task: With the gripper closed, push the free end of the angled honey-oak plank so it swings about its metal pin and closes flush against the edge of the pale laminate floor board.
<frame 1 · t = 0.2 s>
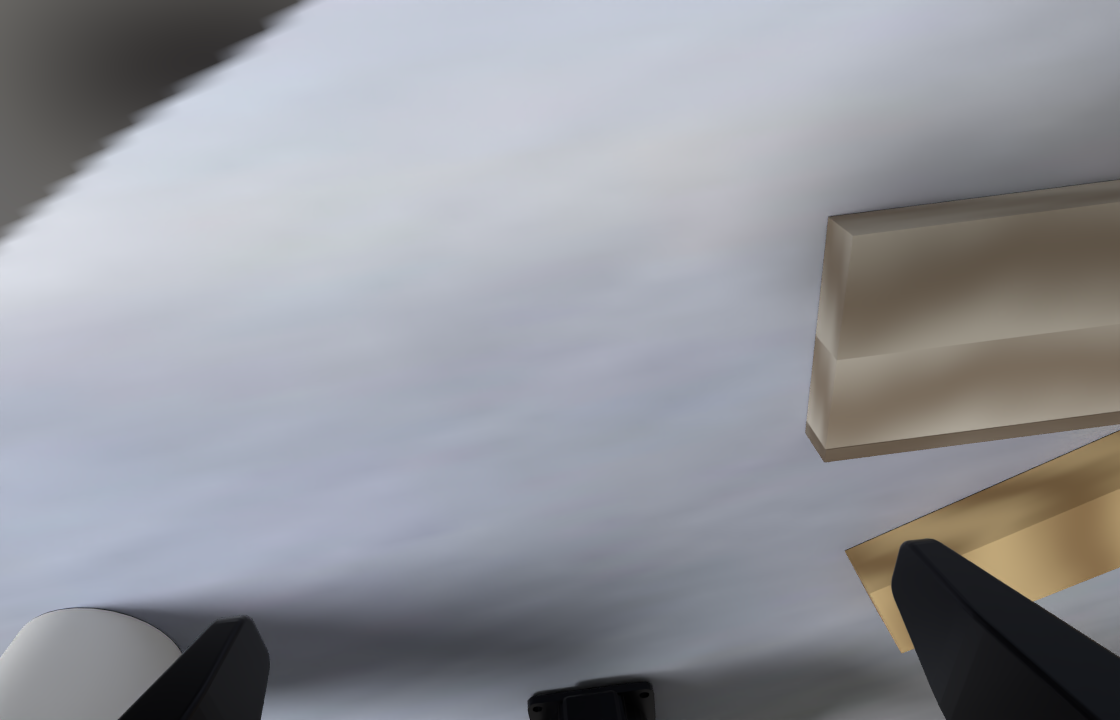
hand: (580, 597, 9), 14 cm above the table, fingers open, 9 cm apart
floor board: (1085, 300, 24), on the table
plank: (1061, 529, 28), point 1 cm above the table, hinge at 25.0°
cylindrical container: (104, 656, 31), on the table
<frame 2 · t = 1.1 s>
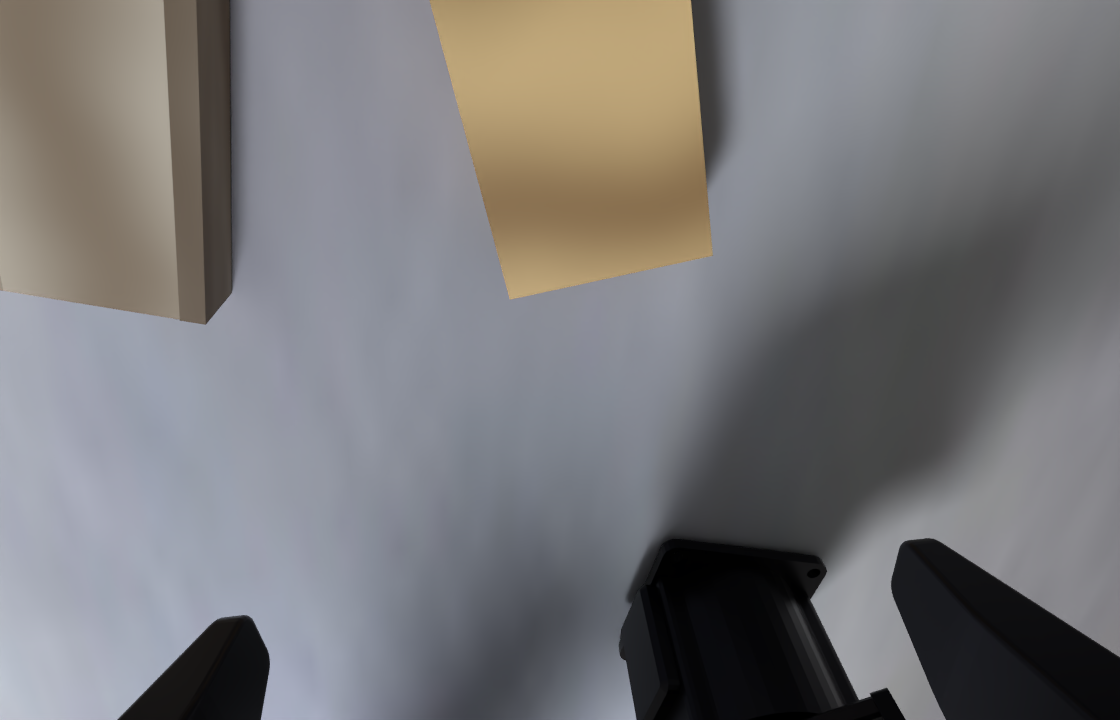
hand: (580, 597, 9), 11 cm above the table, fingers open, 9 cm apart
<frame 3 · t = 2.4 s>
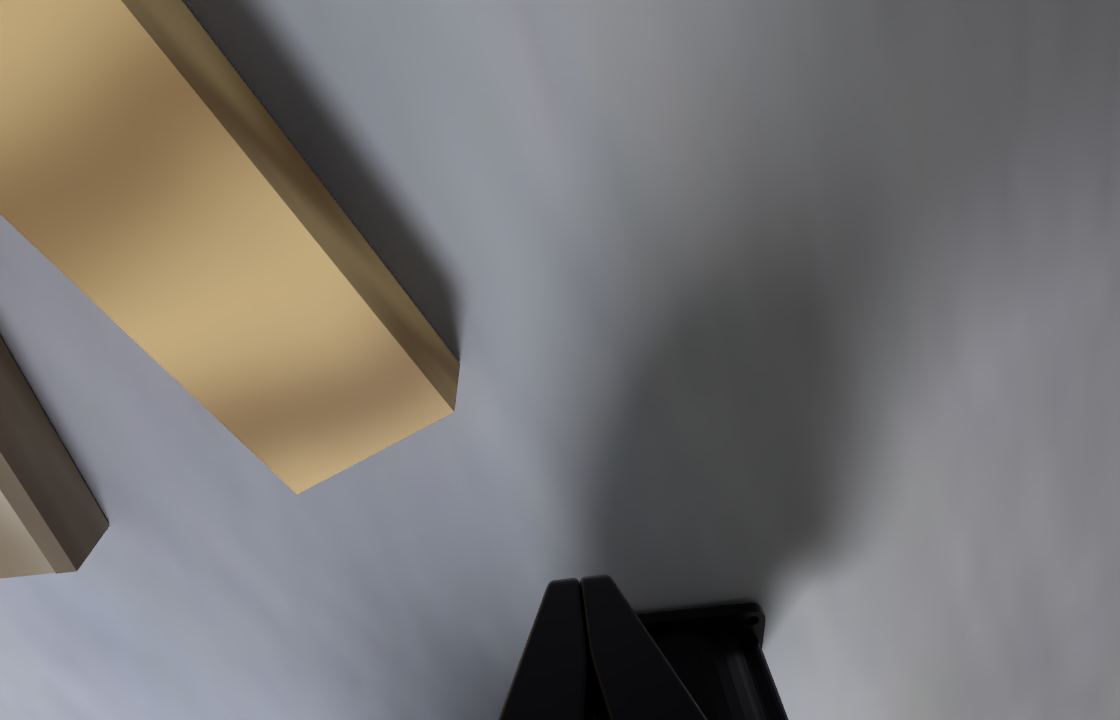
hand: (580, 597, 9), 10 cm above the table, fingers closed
plank: (136, 163, 14), point 1 cm above the table, hinge at 25.0°
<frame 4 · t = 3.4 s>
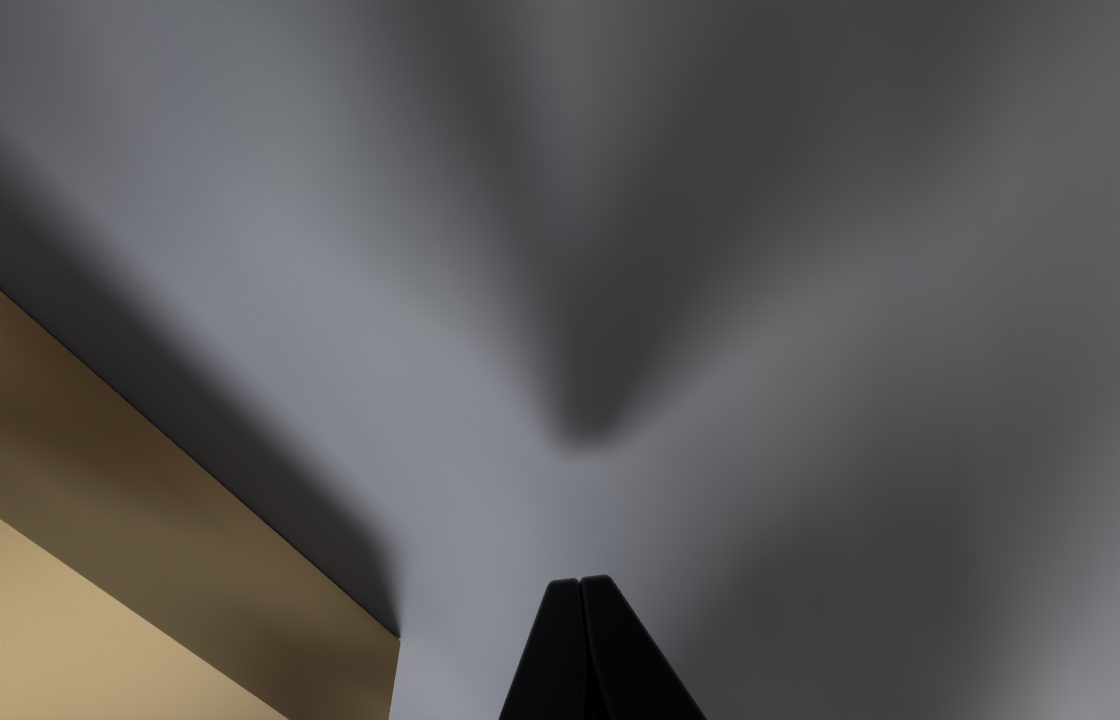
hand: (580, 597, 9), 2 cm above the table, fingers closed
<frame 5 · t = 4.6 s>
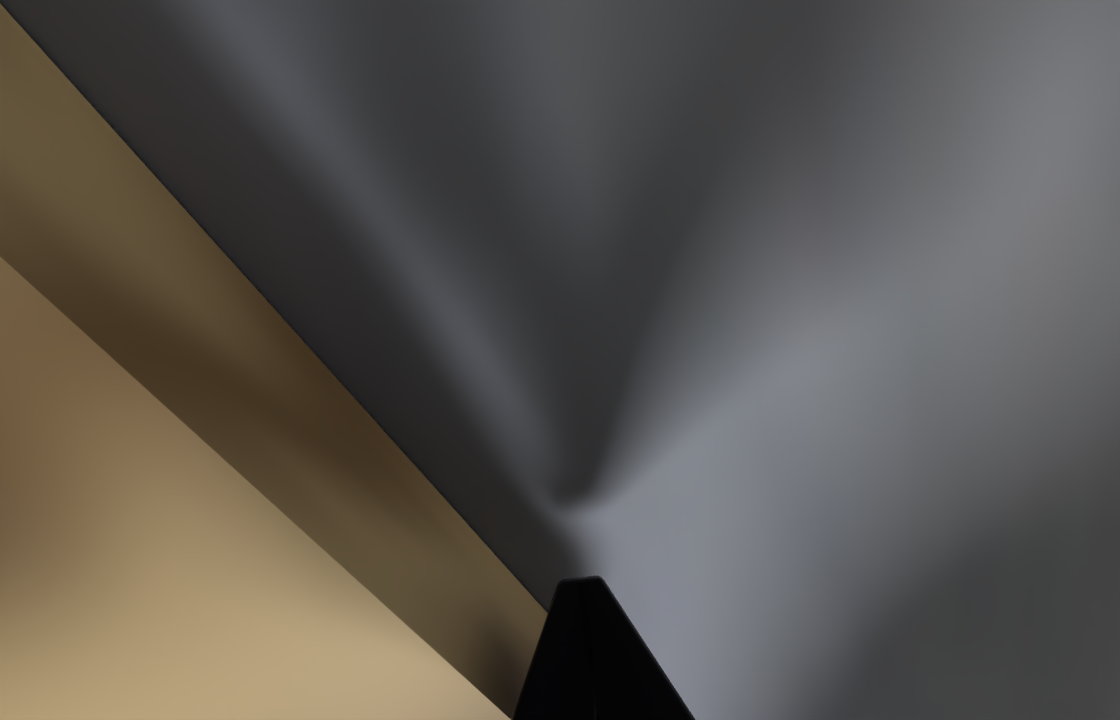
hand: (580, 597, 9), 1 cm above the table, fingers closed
plank: (1, 449, 7), point 1 cm above the table, hinge at 23.6°, touching gripper
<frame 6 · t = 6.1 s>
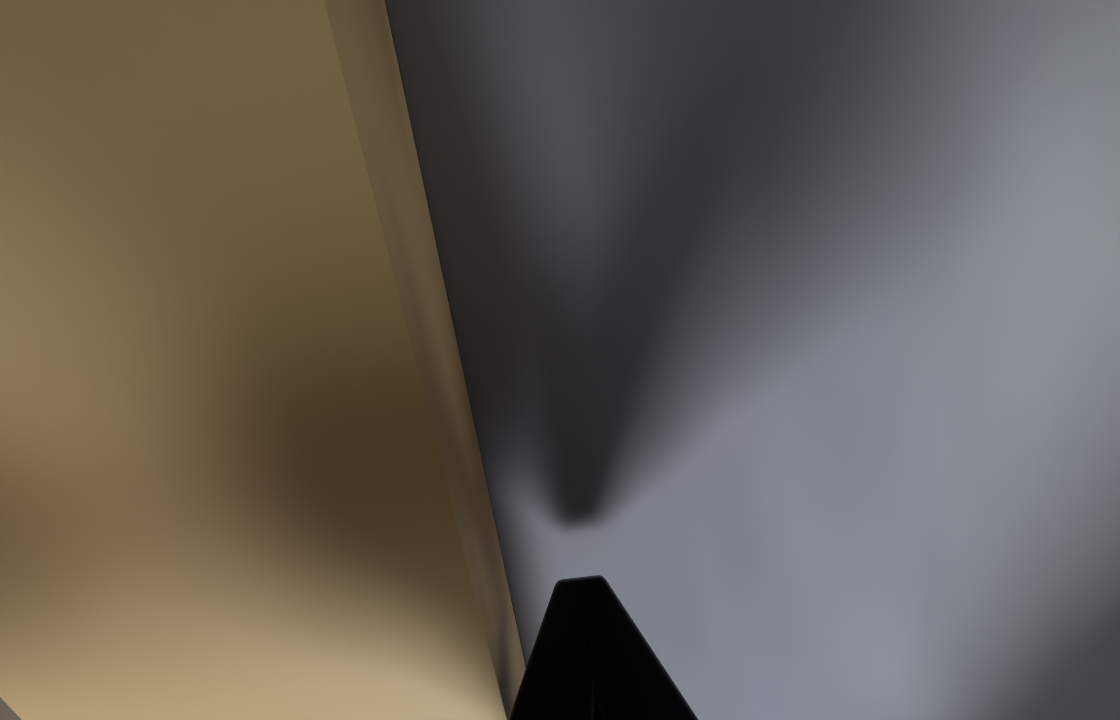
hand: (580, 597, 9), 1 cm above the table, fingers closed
plank: (203, 454, 7), point 1 cm above the table, hinge at 1.2°, touching gripper
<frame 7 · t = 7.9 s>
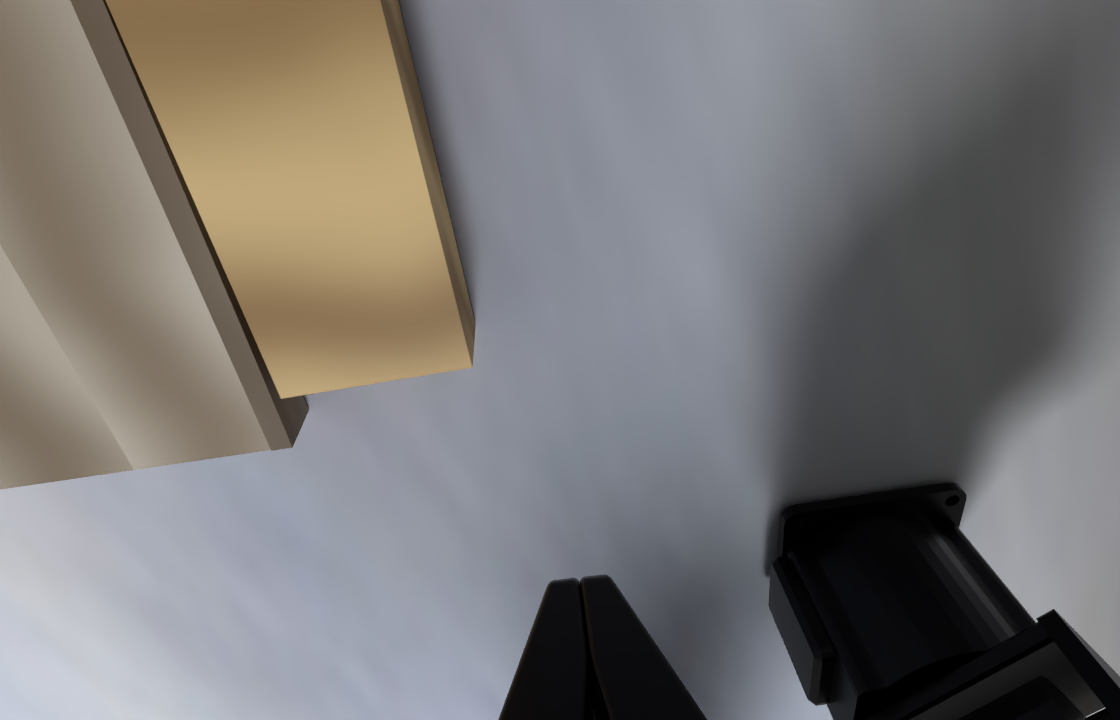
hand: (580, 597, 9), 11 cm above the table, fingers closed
plank: (267, 20, 14), point 1 cm above the table, hinge at 1.1°
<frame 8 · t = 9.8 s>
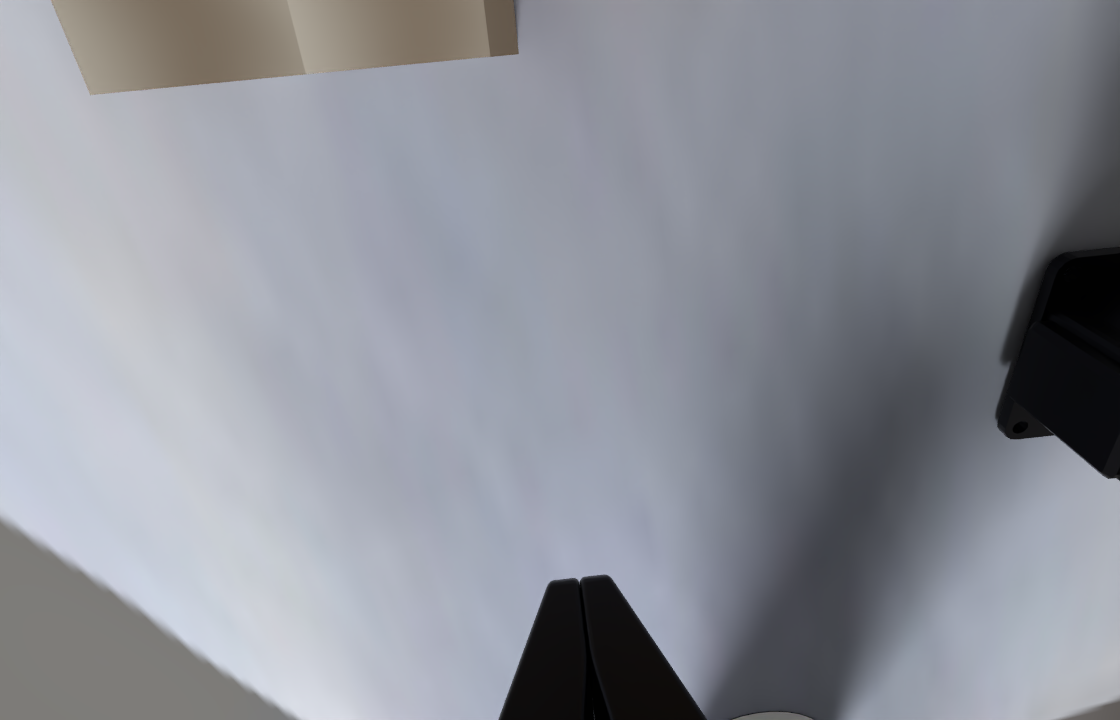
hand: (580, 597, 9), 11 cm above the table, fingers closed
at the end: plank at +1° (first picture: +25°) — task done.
